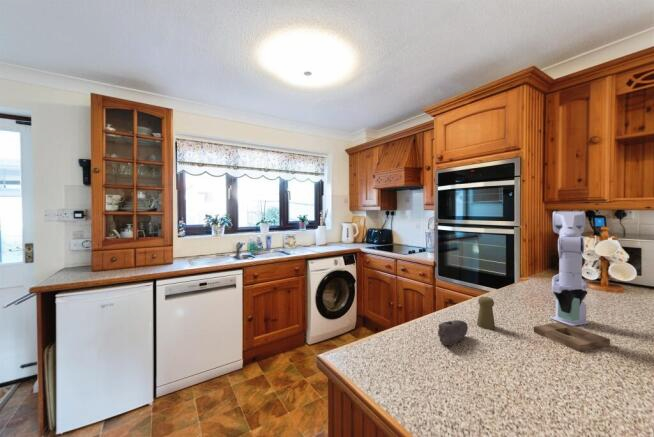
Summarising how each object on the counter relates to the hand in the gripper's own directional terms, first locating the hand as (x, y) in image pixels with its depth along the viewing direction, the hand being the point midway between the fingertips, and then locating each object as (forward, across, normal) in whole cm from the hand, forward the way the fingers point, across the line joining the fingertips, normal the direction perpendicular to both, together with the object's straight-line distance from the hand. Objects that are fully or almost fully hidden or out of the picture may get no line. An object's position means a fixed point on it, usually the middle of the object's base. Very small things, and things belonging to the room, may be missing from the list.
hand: (569, 311), depth 90 cm
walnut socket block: (+9, 0, 0) cm, 9 cm away
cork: (+10, +18, -17) cm, 27 cm away
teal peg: (+2, 0, 0) cm, 3 cm away
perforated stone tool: (+10, +38, -12) cm, 41 cm away
